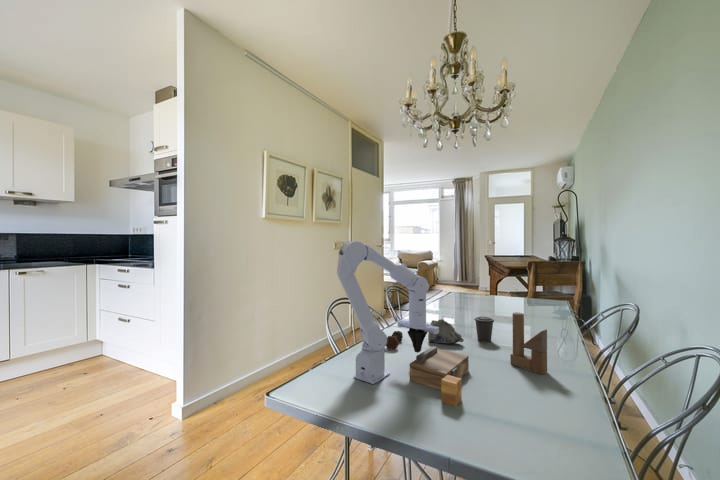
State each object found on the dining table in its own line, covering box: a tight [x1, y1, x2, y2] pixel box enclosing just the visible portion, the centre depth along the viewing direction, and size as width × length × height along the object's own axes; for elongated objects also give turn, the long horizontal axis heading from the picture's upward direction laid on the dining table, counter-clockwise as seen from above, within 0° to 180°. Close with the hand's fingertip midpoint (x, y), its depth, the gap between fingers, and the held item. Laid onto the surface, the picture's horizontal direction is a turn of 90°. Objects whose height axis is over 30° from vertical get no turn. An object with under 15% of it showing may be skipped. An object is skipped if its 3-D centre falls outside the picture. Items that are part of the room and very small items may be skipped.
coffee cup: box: [474, 316, 495, 343], centre depth 135 cm, size 8×8×10 cm
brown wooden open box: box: [409, 359, 470, 391], centre depth 100 cm, size 18×12×4 cm, turn 141°
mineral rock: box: [427, 318, 465, 345], centre depth 132 cm, size 13×11×10 cm
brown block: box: [440, 375, 463, 407], centre depth 84 cm, size 4×4×6 cm
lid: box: [409, 345, 470, 377], centre depth 100 cm, size 18×13×5 cm
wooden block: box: [510, 311, 548, 376], centre depth 106 cm, size 4×11×18 cm, turn 34°
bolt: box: [385, 330, 404, 350], centre depth 132 cm, size 6×5×15 cm
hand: (417, 351), depth 105 cm, fingers closed
